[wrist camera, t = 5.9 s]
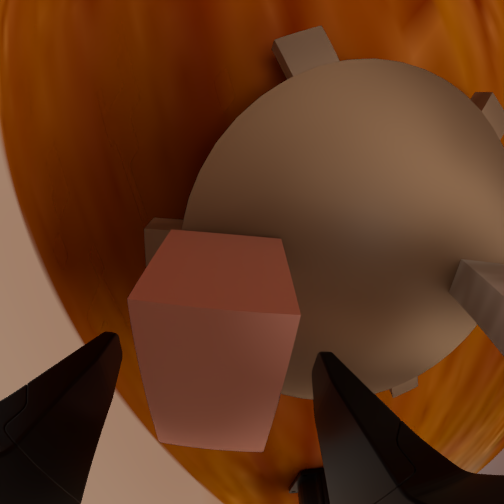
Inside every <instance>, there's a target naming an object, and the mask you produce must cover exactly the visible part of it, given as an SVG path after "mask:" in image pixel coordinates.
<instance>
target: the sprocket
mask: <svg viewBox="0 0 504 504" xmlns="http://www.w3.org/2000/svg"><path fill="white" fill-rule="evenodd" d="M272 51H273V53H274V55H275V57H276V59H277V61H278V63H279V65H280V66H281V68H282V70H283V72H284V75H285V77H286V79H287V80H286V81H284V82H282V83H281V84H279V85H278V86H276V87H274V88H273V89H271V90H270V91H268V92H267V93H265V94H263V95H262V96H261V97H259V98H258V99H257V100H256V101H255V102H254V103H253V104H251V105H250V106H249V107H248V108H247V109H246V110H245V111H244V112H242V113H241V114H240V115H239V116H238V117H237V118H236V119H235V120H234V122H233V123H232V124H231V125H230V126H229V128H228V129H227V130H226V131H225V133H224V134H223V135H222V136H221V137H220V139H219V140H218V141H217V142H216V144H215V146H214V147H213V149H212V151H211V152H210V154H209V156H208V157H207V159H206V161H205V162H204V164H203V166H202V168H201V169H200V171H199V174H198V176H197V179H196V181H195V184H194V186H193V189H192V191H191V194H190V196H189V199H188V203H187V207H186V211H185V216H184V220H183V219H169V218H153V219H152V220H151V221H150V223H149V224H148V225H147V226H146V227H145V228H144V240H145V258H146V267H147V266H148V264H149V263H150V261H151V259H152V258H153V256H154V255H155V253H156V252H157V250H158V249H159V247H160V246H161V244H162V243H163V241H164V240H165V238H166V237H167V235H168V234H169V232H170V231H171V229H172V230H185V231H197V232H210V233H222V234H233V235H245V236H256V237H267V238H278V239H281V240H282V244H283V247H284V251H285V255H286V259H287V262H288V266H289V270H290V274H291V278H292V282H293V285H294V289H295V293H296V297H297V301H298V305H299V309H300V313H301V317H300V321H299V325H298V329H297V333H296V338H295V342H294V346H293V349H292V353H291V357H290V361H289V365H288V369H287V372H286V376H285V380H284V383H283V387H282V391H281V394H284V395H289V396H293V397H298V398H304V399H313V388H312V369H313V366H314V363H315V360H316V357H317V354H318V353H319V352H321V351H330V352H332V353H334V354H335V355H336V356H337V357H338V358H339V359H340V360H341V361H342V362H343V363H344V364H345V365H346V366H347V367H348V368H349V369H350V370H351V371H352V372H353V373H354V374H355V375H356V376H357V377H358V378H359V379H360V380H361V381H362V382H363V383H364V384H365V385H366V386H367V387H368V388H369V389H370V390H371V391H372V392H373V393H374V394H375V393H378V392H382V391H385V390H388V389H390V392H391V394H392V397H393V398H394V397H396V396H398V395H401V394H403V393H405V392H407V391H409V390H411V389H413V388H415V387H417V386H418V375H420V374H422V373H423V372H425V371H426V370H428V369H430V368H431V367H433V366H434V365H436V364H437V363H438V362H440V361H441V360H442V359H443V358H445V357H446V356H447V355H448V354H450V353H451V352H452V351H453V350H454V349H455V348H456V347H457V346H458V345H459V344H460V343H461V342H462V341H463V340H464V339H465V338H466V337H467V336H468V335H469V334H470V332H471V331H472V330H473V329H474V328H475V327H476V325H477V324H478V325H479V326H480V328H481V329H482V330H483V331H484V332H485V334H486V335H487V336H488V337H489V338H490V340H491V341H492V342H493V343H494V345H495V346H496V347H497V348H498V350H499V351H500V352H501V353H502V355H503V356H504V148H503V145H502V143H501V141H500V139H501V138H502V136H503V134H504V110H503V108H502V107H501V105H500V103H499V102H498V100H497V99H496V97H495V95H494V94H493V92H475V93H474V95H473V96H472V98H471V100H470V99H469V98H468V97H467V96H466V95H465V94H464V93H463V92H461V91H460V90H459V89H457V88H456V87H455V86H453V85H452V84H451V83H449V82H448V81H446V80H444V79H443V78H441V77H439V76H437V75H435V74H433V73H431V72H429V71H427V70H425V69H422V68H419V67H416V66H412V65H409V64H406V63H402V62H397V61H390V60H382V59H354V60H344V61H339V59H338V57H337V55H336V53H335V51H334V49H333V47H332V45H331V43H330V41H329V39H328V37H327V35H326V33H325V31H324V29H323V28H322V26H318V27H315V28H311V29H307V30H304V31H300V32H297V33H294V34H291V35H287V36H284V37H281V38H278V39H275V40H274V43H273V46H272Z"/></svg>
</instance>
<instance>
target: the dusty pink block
mask: <svg viewBox="0 0 504 504" xmlns="http://www.w3.org/2000/svg"><path fill="white" fill-rule="evenodd" d="M127 302H128V308H129V315H130V321H131V327H132V333H133V338H134V344H135V349H136V354H137V359H138V363H139V368H140V372H141V377H142V381H143V385H144V389H145V394H146V397H147V401H148V405H149V409H150V413H151V416H152V420H153V423H154V427H155V430H156V433H157V436H158V440H159V442H162V443H168V444H174V445H180V446H188V447H196V448H205V449H215V450H228V451H246V452H263V451H264V448H265V444H266V441H267V438H268V435H269V432H270V428H271V425H272V422H273V418H274V415H275V412H276V408H277V405H278V401H279V398H280V394H281V391H282V387H283V383H284V380H285V376H286V372H287V369H288V365H289V361H290V357H291V353H292V349H293V346H294V342H295V338H296V333H297V329H298V325H299V321H300V317H301V313H300V309H299V305H298V301H297V297H296V293H295V289H294V285H293V282H292V278H291V274H290V270H289V266H288V262H287V259H286V255H285V251H284V247H283V244H282V240H281V239H278V238H267V237H256V236H245V235H233V234H222V233H210V232H197V231H185V230H172V229H171V231H170V232H169V234H168V235H167V237H166V238H165V240H164V241H163V243H162V244H161V246H160V247H159V249H158V250H157V252H156V253H155V255H154V256H153V258H152V259H151V261H150V263H149V264H148V266H147V267H146V269H145V270H144V272H143V274H142V275H141V277H140V278H139V280H138V282H137V283H136V285H135V287H134V288H133V290H132V292H131V293H130V295H129V296H128V298H127Z"/></svg>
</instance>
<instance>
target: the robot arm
mask: <svg viewBox="0 0 504 504" xmlns="http://www.w3.org/2000/svg"><path fill="white" fill-rule="evenodd" d="M121 361H122V349H121V345H120V340H119V336H118V334H116V333H113V332H104V333H102V334H100V335H99V336H97V337H96V338H94V339H93V340H91V341H90V342H88V343H87V344H85V345H84V346H82V347H81V348H79V349H78V350H76V351H75V352H73V353H72V354H71V355H69V356H67V357H66V358H64V359H63V360H62V361H60V362H59V363H58V364H56V365H54V366H53V367H51V368H50V369H48V370H47V371H45V372H44V373H42V374H41V375H39V376H38V377H36V378H35V379H33V380H32V381H31V382H29V383H28V385H25V386H23V387H22V388H20V389H19V390H17V391H16V392H14V393H13V394H11V395H9V396H8V397H6V398H5V399H3V400H1V401H0V504H80V503H81V501H82V497H83V493H84V489H85V485H86V482H87V478H88V474H89V471H90V467H91V464H92V460H93V457H94V453H95V451H96V447H97V444H98V441H99V438H100V435H101V431H102V428H103V425H104V422H105V419H106V416H107V413H108V410H109V407H110V405H111V402H112V398H113V395H114V391H115V386H116V382H117V377H118V373H119V369H120V365H121ZM312 388H313V402H314V416H315V423H316V428H317V433H318V439H319V444H320V449H321V455H322V460H323V466H324V469H318V470H306V471H301V472H300V473H299V474H298V476H297V477H296V479H295V480H294V482H293V483H292V485H291V486H290V488H289V493H298V497H299V504H504V475H486V474H475V473H470V472H467V471H465V470H463V469H461V468H459V467H458V466H456V465H455V464H454V463H452V462H451V461H450V460H448V459H447V458H445V457H444V456H443V455H441V454H440V453H439V452H437V451H436V450H435V449H434V448H432V447H431V446H430V445H428V444H427V443H426V442H425V441H424V440H422V439H421V438H420V437H419V436H418V435H417V434H415V433H414V432H413V431H412V430H411V429H410V428H409V427H408V426H407V425H406V424H405V423H404V422H403V421H401V420H400V418H399V417H397V416H396V415H395V414H394V413H393V412H392V411H391V410H390V409H389V408H388V407H387V406H386V405H385V404H384V403H383V402H382V401H381V400H380V399H379V398H378V397H377V396H376V395H375V394H374V393H373V392H372V391H371V390H370V389H369V388H368V387H367V386H366V385H365V384H364V383H363V382H362V381H361V380H360V379H359V378H358V377H357V376H356V375H355V374H354V373H353V372H352V371H351V370H350V369H349V368H348V367H347V366H346V365H345V364H344V363H343V362H342V361H341V360H340V359H339V358H338V357H337V356H336V355H335V354H334V353H332V352H330V351H321V352H319V353H318V354H317V357H316V360H315V363H314V366H313V369H312Z"/></svg>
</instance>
